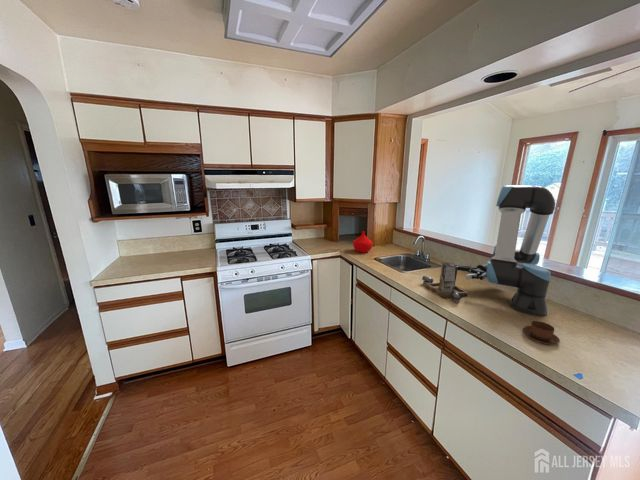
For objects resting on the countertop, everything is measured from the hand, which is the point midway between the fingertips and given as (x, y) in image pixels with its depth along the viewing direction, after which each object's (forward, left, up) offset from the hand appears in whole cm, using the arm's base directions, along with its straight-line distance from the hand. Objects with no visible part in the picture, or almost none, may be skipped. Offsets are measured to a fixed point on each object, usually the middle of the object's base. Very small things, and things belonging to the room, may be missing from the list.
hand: (457, 272), depth 150 cm
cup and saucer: (-49, +1, -12) cm, 50 cm away
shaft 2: (-12, +11, -11) cm, 20 cm away
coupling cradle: (0, +6, -11) cm, 13 cm away
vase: (+94, +19, -12) cm, 97 cm away
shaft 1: (+12, +11, -12) cm, 19 cm away
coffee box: (0, +6, -11) cm, 12 cm away
